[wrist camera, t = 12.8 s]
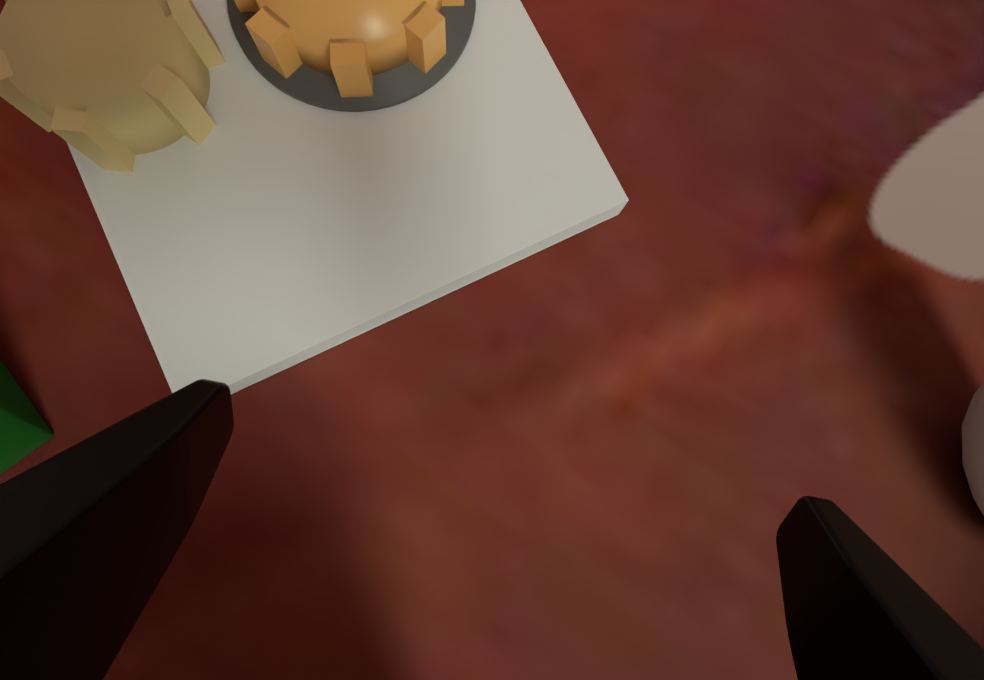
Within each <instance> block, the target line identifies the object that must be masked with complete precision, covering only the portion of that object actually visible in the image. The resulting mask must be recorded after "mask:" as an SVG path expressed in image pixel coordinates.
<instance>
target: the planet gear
mask: <svg viewBox="0 0 984 680" xmlns="http://www.w3.org/2000/svg"><path fill="white" fill-rule="evenodd" d="M234 1H235V3H236V5H237V7H238V9H239V11H240V12H257V13H256V14H255V15H254V16H253V17H252V18H251V19H249V20H248V21H247V22H246V23H245V25H246V27H247V29H248V31H249V33H250V35H251V37H252V39H253V40H254V42H255V44H256V46H257V48H258V50H259V52H260V54H261V56H262V58H263V60H265V61H266V62H267V63H268V64H269V65H270V66H272V67H273V68H274V69H275V70H276V71H278V72H279V73H280V74H281V75H282V76H283V77H285V78H286V79H287V78H288V77H289V76H290V75H291V74H292V73H293V72H294V71H296V70H297V69H298V68H299V67H300V66H301V65H302V64H304V65H305V66H307V67H309V68H311V69H314V70H316V71H319V72H322V73H325V74H329V75H333V76H334V77H335V80H336V83H337V86H338V89H339V92H340V95H341V97H365V96H373V78H372V75H377V74H381V73H384V72H387V71H389V70H392V69H394V68H396V67H398V66H400V65H402V64H404V63H405V62H407V61H408V60H409V61H410V62H412V63H413V64H414V65H415V66H416V67H418V68H419V69H420V70H421V71H422V72H424V73H425V74H426V73H427V72H428V71H429V70H430V69H431V68H432V67H433V66H434V65H435V64H436V63H437V62H438V61H439V60H440V59H441V58H442V57H443V56H444V55H445V54H446V32H445V17H444V16H442V15H441V11H442V6H464V0H234Z"/></svg>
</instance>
